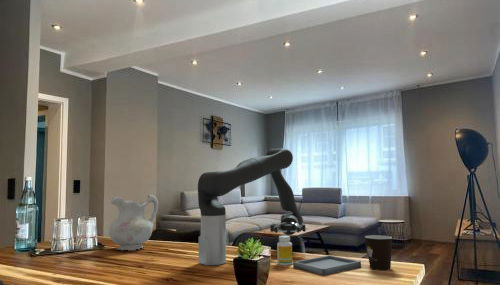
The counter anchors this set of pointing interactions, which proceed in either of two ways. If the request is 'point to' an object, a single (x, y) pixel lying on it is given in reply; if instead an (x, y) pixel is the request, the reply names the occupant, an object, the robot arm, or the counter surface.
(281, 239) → the supplement bottle
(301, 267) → the tray
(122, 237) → the ceramic pitcher
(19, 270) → the counter surface
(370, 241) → the coffee mug
